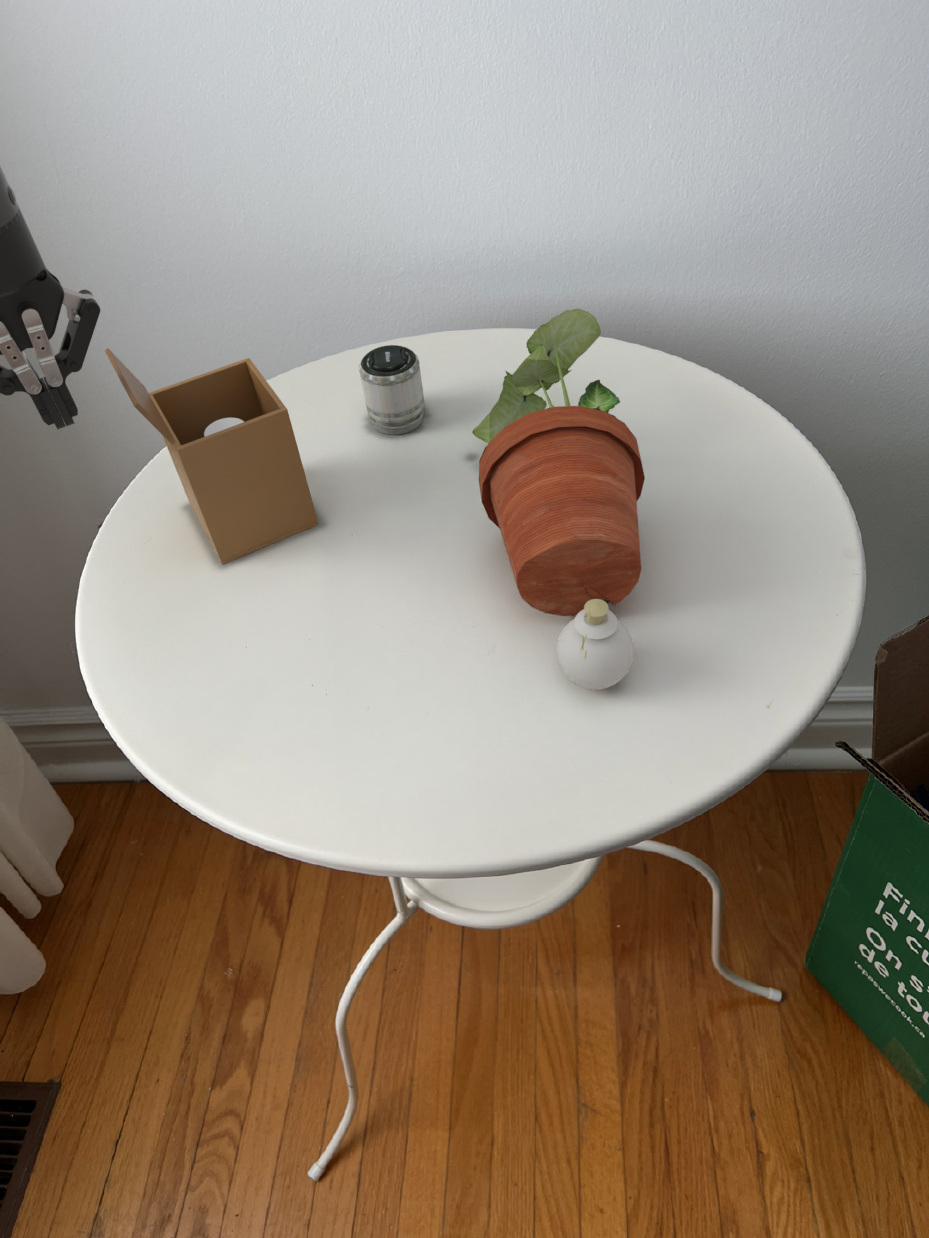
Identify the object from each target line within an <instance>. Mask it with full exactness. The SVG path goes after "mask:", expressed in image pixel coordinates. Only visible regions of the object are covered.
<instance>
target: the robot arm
mask: <svg viewBox="0 0 929 1238" xmlns="http://www.w3.org/2000/svg"><path fill="white" fill-rule="evenodd" d="M63 306H64V312H65V315H66V316H67V318H68V322H67V325H66V329H65V332H64V335H63V338H62V341H61V344H60V347H59V351H58V353H57V354H55V353H54V351H53V348H52V345H51V343H50V340H51V339H52V338H53V337H54V335H55V333H56V330H57V326H58V323H59V318H60V313H61V310H62V307H63ZM100 314H101V307H100V305H99V304H98V301H97V300H96V298H95V296H94V295H93V293H92V292H91V291H90V290H89V289H80V290H79V291H76V290H72V289H69V288H66V287H63V286H62V283H61V282H60V280H59V279H58V277H57V276H55V275H54V274H53V273H51V271H50V270H49V269H48V268H47V267H46V264H45V262H44V260H43V258H42V256H41V254H40V251H39V248H38V246H37V244H36V241H35V240H34V237H33V235H32V233H31V231H30V228H29V226H28V224H27V221H26V220H25V217H24V214H23V213H22V211H21V209H20V206H19V204H18V202H17V197H16V194H15V191H14V190H13V188H12V187H11V186H10V184H9V181H8V179H7V177H6V174H5V172H4V170H3V169H2V167H1V165H0V356H3V357H4V359H5V360H6V362H7V363H8V365H9V366H10V368H7V367H4V366H3V365H1V364H0V394H1V395H4V396H12V395H13V394H15V392H16V393H18V392H21V393H22V392H23V393H26V394H27V395H29V397H30V398H31V400H32V402H33V404H34V406H35V408H36V410H37V412H38V413H39V416H40V418H41V420H42V421H43V422H44V424H46V425H47V426H52V425H55V427H56V429H57V430H60V429H64V428H66V427H69V426H72V425H74V424H76V423H75V420H74V419H73V417H77V416H78V415H79V410H78V409H79V408H78V407H77V405H76V404H77V403H76V402H75V400H74V398H73V396H72V394H71V392H70V389H69V388H68V386H67V383H66V380H67V378H68V376H69V375H70V374H72V373H78V372H80V371H81V370H82V368H83V365H84V362H85V359H86V356H87V353H88V350H89V347H90V344H91V341H92V339H93V335H94V333H95V329H96V326H97V323H98V321H99V316H100ZM27 349H33V352H34V354H35V356H36V359H37V362H38V365H39V366H40V369H41V371H42V374H43V377H40V375H39V374H38V372H37V370H36V369H35V368H34V366H33V365H32V363H31V361H30V359H29V358H28V355H26V353H25V351H26V350H27Z"/></svg>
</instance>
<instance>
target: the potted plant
mask: <svg viewBox="0 0 929 1238" xmlns="http://www.w3.org/2000/svg"><path fill="white" fill-rule="evenodd" d="M601 333H602V331H601V326H600V324H599V322H598V320H597V318H596V316H595V315H593V314H592V313H591V312H589V311H587V310H584V309H581V308H573V309H566V310H565V311H563V312H561V313H560V314H558V315H555V316H554V317H552V318H551V319H550V320H549V321H548V322H546V323H544V324H541V325H540V326H539V327H537V329H536V330H534V331H533V333H532V335H531V336H530V337H529V338H528V339H527V341H526V349H527V351H528V354H529V355H528V356H527V357H526V358H525V359H523V361H522V362H521V363H520V365H519V366H518V367H517V369H516V370H515V371H514V372H512V373H510V372H509V371H507V370H505V373H506V375H505V376H504V377H503V379H504V380H503V382H502V390H501V393H500V395H499V398H498V400H497V402H496V403H495V404H494V405H493V406H492V408H491V409H490V411H489V413H488V414H487V415H486V416H485V417H484V419H482V421H481V422H479V424H478V425H477V426H475V427H474V428H473V429H472V432H471V434H472V435H473V436H475V437H476V438H477V439H479V440H481V441H483V442H485V443H487V445H486V446H485V447H484V449H483V451H482V453H481V456H480V458H479V460H478V488H479V493H480V499H481V503H482V506H483V508H484V510H485V513H486V515H487V518H488V519H489V520H490V521H491V522H492V523H493V524H494V525H495V526H496V527H497V528H499V530H500V531H499V532H500V534H501V537H502V541H503V545H504V548H505V551H506V554H507V558H508V560H509V561H508V562H509V565H510V568H511V571H512V574H513V578H514V581H515V585H516V588H517V590H518V592H519V595H520V597H521V600H523V601H524V602H525V603H526V604H527V605H529V606H530V607H531V608H533V609H535V610H537V611H539V612H542V613H544V614H548V615H554V616H560V617H573V616H575V617H576V615H577V614H578V613H579V612H580V611H582V610H583V609H584V606H585V604H586V602H588V601H589V600H592V599H601V600H603V601H605V602H606V603H607V604H608V605H609V604H612V605H614V606H617V605H618V604H619V603H621V602H622V601H623V600H624V599H625V598H627V596H628V595H630V593H631V592H632V591H633V589H635V587H636V585H637V584H638V583H639V579H640V577H641V576H640V575H641V573H642V560H641V559H642V558H641V557H642V556H641V545H640V544H641V543H640V532H639V530H640V529H639V517H638V504H637V502H638V501H639V499H640V498H641V496H642V491H643V487H644V484H645V479H646V477H645V472H644V468H643V463H642V458H641V454H640V449H639V443H638V440H637V437H636V436H635V434H634V433H633V432H632V431H631V429H630V428H629V427H628V425H627V424H626V423H625V422H624V421H622V420H621V419H619V418H618V417H617V416H615V415H614V414H612V413H609V412H610V411H611V410H612V409H614V408H615V406H616V405H619V404H620V403H621V400H620V397H618V396H617V394H615V393H614V391H612V390H611V389H610V388H609V387H607V386H605V385H604V384H603V383H602V382H601V379H597V380H593V381H591V382H589V384H588V385H587V386H586V387H585V389H584V390H585V392H584V393H583V394H581V395H580V396H579V399H578V403H577V405H571V402H570V399H569V394H568V390H567V387H566V383H565V379H564V378H565V376H567V375H568V374H570V373H571V371H572V369H570V368H571V367H572V366H573V365H574V364H575V362H576V361H577V360H578V359H579V358H580V357H581V356H583V355H584V354H585V353H586V352H587V351H588V350H589V349H590V348H591V347H592V345H593V344H595V342H596V341H597V340H598V339H599V338H600V336H601ZM559 382H560V384H561V389H562V394H563V400H564V406H563V405H562V406H554V405H553V403H552V401H551V398H550V396H549V394H548V390H550V388H551V387H552V386H553V385H554V384H558V383H559ZM540 389H542V391H543V393H544V395H545V398H546V400H547V401H546V400H545V399H544V398H543V397H542V396H539V395H538V394H536V392H538V391H539V390H540ZM547 406H549V407H548V408H546V407H547Z"/></svg>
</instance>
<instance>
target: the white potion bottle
mask: <svg viewBox="0 0 929 1238" xmlns="http://www.w3.org/2000/svg"><path fill="white" fill-rule="evenodd" d="M634 646H635V645H634V642H633V637H632V635H631V633H630V632H629V630H628V629H627V627H626V626H625V625H624V624H623V623H622V622H621V621H620V620H619V619H618V617H617V616H616V615H615V613H613V611H612V610H610V608H609V604H607V603H606V602H605V601H603V600H601V599H592V600H589V601H588V602H586V604H585V606H584V609H583V610H582V611H580V612H579V613H578V614H577V615H576V616H575V617H574V618H573V619H571V620H570V621H569V622H568V623H567V624H566V625H565V626H564V627H563V628H562V631H561V632H560V633H559V635H558V638H557V642H556V650H555V652H556V660H557V663H558V666H559V668H560V670H561V672H562V673H563V675H564V676H565V677H566V678H567V679H568V681H570V682H572V684H574V685H576V686H578V687H581V688H583V689H587V690H594V691H595V690H604V689H608V688H610V687H612V686H615V685H616V684H618V683H619V682H620V681H622V680H623V679H624V678H625V677H626V676H627V674H628V672H629V671H630V669H631V667H632V665H633V662H634V656H635V647H634Z"/></svg>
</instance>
